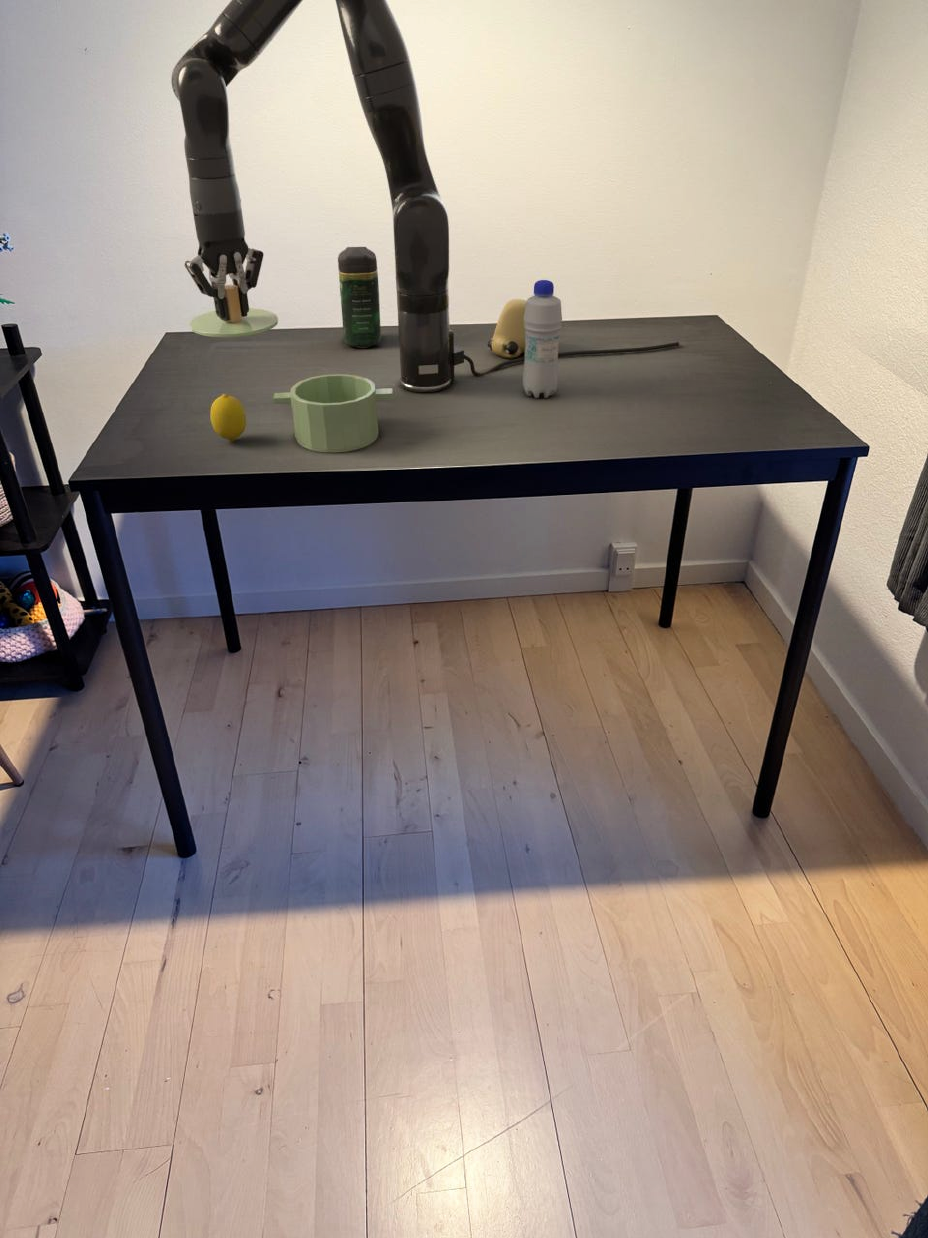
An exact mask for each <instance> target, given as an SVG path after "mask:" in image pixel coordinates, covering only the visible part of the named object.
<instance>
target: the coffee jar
mask: <svg viewBox="0 0 928 1238" xmlns="http://www.w3.org/2000/svg"><path fill="white" fill-rule="evenodd" d="M337 264H338V265H337V267H338V279H339V293H340V294H339V295H340V306H341V319H342V331H343V332H342V333H343V341H344V344H345V345H346V346H348V347H354V348H358V349H368V348H369V347H374V346H378V345H380V343H381V339H382V333H381V331H382V330H381V314H380V313H381V311H380V309H381V308H380V285H379V275H378V274H379V272H378V260H377V256H376V253H375V252H374V251H373V250H371V249H369V248H368V247H367V246H347V247H346V248H345V249H343V250H342V251H340V253H339V254H338V256H337Z"/></svg>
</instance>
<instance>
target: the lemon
mask: <svg viewBox="0 0 928 1238" xmlns="http://www.w3.org/2000/svg"><path fill="white" fill-rule="evenodd" d="M209 419H210V422H211V425H212V428H213V431H214V432H215V433H216V434H217V436H219V437H221V438H222V439H226V440H228V441H229V442H235V440H236V439H237V438H239V437H241V436H242V435H243V433H244V432H245V430H246V427H247V415H246V412H245V409H244V406H243V405H242V402H240V401H239V400H238V399H237V398H236V397H234V396H233V395H228V394H227V393H222V394H221V395H220V396H219V397H217V398H216V399H214V400H213V402H212V404H211V407H210V417H209Z"/></svg>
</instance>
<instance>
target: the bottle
mask: <svg viewBox="0 0 928 1238" xmlns="http://www.w3.org/2000/svg"><path fill="white" fill-rule="evenodd" d="M554 288H555V286H554V283H553V281H551V280H548V279H539V280H537V281H535V283H534V285H533V295H531V296H530V297H528V298H527V299H526V308H525V314H524V328H525V330H526V332H525V353H524V357H525V361H523V362H524V363H523V370H522V371H523V372H522V373H523V374H522V387H523V390H524V393H525V394H526V396H528V397H531V396H532V395H533V397H534V398H535V399H539V397H540V394H543V398H544V399H546V398H549V396H553V395H554V394H555V393H556V391H557V388H558V381H559V379H558V378H559V375H558V369H559V367H558V363H559V362H558V359H559V356H558V353H559V343H560V330H561V328H562V322H563V314H562V312H563V311H562V301H561V299H560V298H559V297H557V296H555V295H554V290H555V289H554Z"/></svg>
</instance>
